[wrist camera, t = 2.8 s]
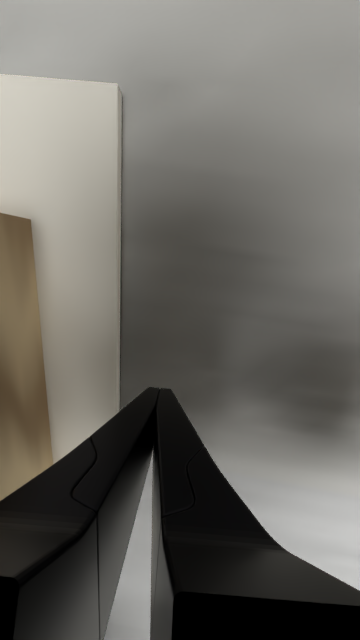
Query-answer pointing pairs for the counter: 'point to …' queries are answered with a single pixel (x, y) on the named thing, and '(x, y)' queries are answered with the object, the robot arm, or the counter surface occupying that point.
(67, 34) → the counter surface
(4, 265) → the t block
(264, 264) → the counter surface
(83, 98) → the board
